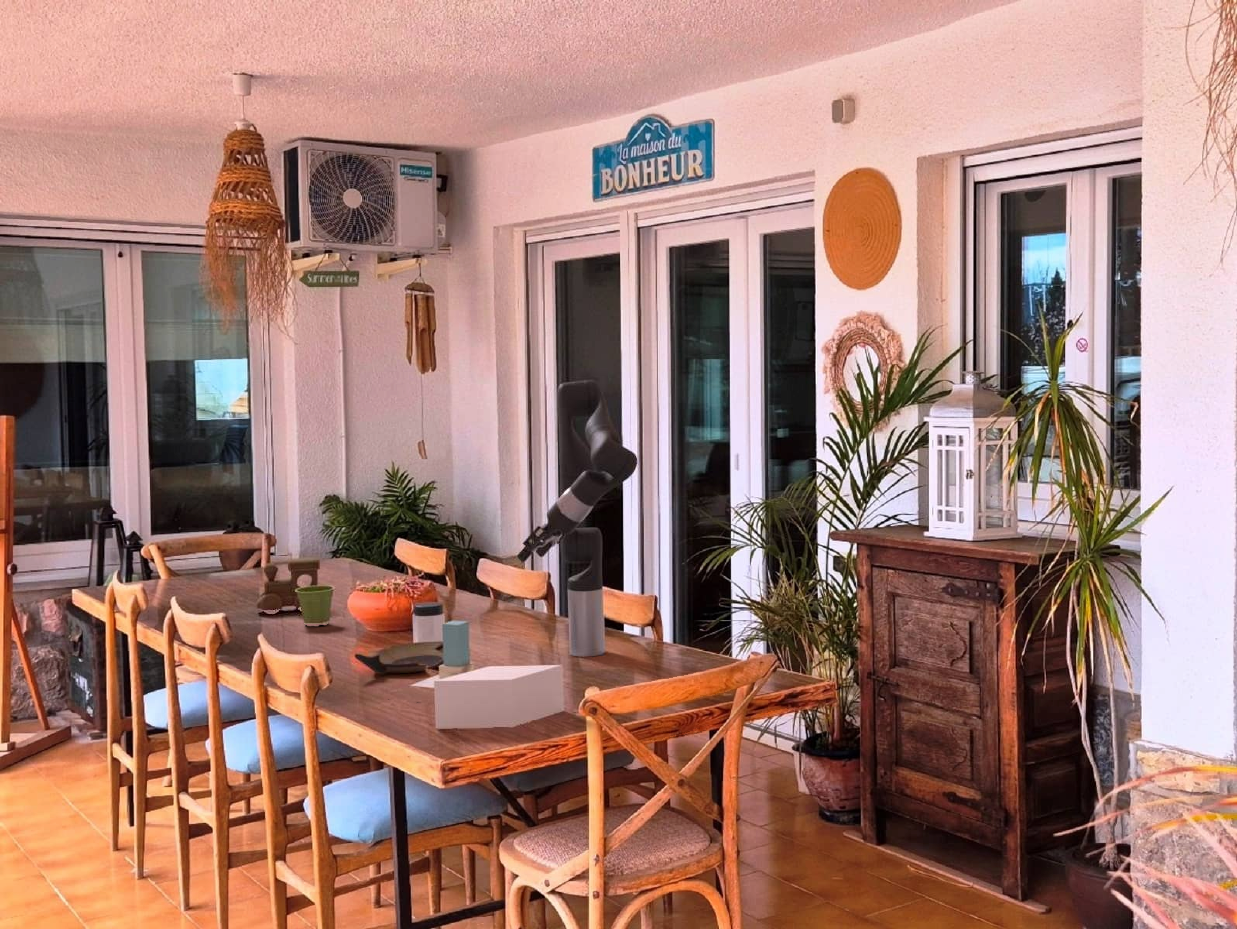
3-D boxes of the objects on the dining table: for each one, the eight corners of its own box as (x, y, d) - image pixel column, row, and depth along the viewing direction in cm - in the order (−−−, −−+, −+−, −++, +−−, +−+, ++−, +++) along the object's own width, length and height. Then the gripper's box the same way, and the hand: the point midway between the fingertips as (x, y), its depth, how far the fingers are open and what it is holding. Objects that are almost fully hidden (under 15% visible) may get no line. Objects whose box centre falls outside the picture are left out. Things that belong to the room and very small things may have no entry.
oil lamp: (477, 671, 329) (476, 641, 328) (362, 688, 314) (361, 657, 313) (442, 656, 348) (441, 628, 348) (332, 672, 333) (331, 642, 333)
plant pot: (295, 623, 403) (294, 587, 402) (335, 620, 406) (333, 584, 405) (297, 630, 392) (295, 592, 391) (337, 627, 395) (336, 590, 394)
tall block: (454, 661, 317) (452, 620, 317) (470, 662, 315) (468, 621, 315) (443, 665, 313) (442, 623, 313) (459, 666, 311) (458, 625, 311)
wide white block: (576, 718, 281) (575, 671, 280) (446, 737, 268) (444, 688, 268) (551, 704, 294) (550, 658, 293) (425, 721, 282) (424, 674, 281)
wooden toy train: (319, 606, 434) (317, 556, 432) (322, 611, 423) (320, 560, 422) (257, 611, 428) (254, 560, 427) (258, 616, 417) (255, 564, 416)
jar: (410, 650, 356) (408, 607, 356) (417, 644, 364) (415, 601, 364) (442, 650, 356) (440, 606, 355) (449, 644, 364) (447, 601, 363)
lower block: (453, 677, 318) (452, 660, 318) (474, 678, 316) (473, 662, 316) (439, 682, 313) (438, 665, 313) (460, 684, 310) (460, 667, 310)
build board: (448, 675, 325) (447, 671, 325) (503, 680, 318) (503, 676, 318) (410, 689, 311) (409, 685, 311) (467, 695, 304) (467, 690, 304)
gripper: (575, 494, 312) (534, 541, 317) (545, 500, 299) (503, 549, 305) (595, 517, 310) (554, 564, 315) (566, 524, 297) (524, 572, 303)
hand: (529, 556), depth 310 cm, fingers open, 8 cm apart
